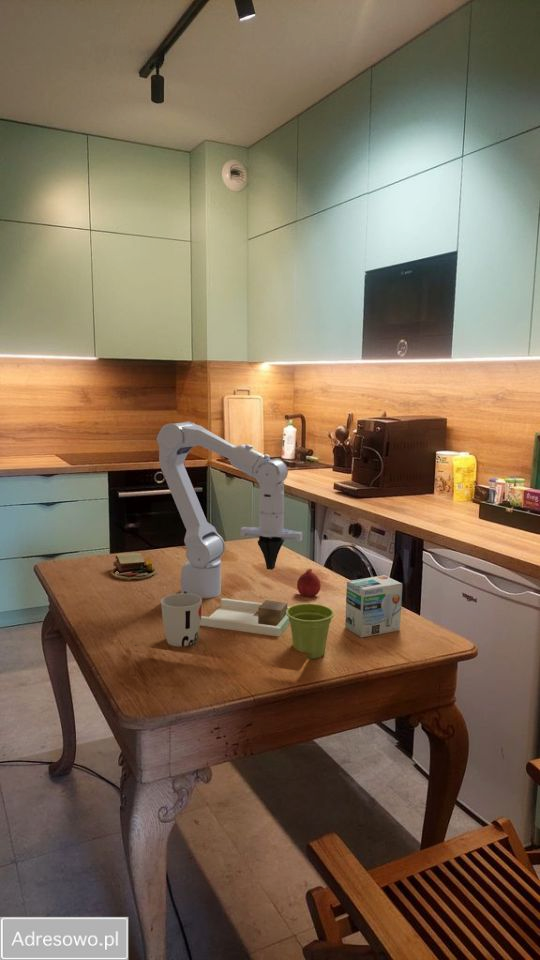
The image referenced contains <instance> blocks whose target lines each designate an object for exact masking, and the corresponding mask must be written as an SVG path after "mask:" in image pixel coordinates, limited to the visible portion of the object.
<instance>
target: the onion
mask: <svg viewBox="0 0 540 960" xmlns="http://www.w3.org/2000/svg"><path fill="white" fill-rule="evenodd" d="M296 583H297V584H296V587H297V589H296V590H297V591H298V593H299V595H300V596H301V597H305V598H313V597H316V596H317V595H318V594H319V593H320V590H321V585H322V584H321V580H320V578H319V577H318V576H317V574H316V573H314V572H313V569H312V568H310V567H308V568H307V570H306V571H305V572H303V573H302V574H301V575H300V576H299V578H297V582H296Z"/></svg>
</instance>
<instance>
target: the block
mask: <svg viewBox="0 0 540 960" xmlns="http://www.w3.org/2000/svg"><path fill="white" fill-rule="evenodd" d="M261 603H262V605H261V606H260V607H259V608H258V612H257V613H258V614H257V615H258V624H264V625H271V626H277V625H278V624H279V622H280V621H281V620H282V619H283V618H284V616H285V615H286V610H287V606H288V602H285V601H284V602H282V601H274V600H270V599H269V600H268V599H264V601H263V602H261Z"/></svg>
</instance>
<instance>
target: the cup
mask: <svg viewBox="0 0 540 960" xmlns="http://www.w3.org/2000/svg"><path fill="white" fill-rule="evenodd" d="M202 602H203V598H201V597H200V596H197V595H194V594H187V593H186V592H185V593H182V594H181V593H174V594H173V593H172V594H170V595H167V596H164V597H163V598H162V599H161V601H160V604H161V617H162V624H163V631H164V634H165V639H166V641H167V643H168V645H170V646H174V647H188V646H191V645H194V644H196V642H197V640H198V638H199V634H200V627H201V625H200V622H201V616H202V605H203V603H202ZM171 651H172V652H175V653H181V651H179V650H174V649H173V650H171Z"/></svg>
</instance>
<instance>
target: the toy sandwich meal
mask: <svg viewBox="0 0 540 960" xmlns="http://www.w3.org/2000/svg"><path fill="white" fill-rule="evenodd" d="M113 566H114V568H112V569H111V571H110V574H111V576H112V577H114V578H115V577H117V578H122V579H140V580H144V579H143V578H146V579H148V578H147V577H149V578H151V577H153V576H155V574H157V571H158V569H157V567H155V566H154V564H153V562H152V560H151V558H150V556H147V557H146V558H145V559H144V557H143V554H142V552H141V553H140V552H122V553H118V554H115V561H113ZM116 571H118V572H119V574H117V575H116V574H115V572H116ZM152 575H153V576H152ZM150 576H151V577H150ZM117 578H116V579H117Z"/></svg>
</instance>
